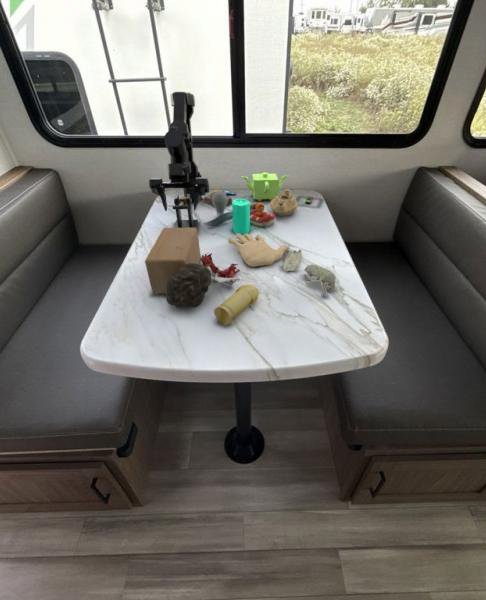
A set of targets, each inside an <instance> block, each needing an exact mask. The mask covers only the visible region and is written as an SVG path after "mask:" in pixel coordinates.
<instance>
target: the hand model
mask: <svg viewBox="0 0 486 600" xmlns="http://www.w3.org/2000/svg"><path fill="white" fill-rule="evenodd" d="M255 237H256V238H255ZM255 237H253V236H252V235H250V234H249V233H245V234H239V233H235V238H233V237H231V236H228V237H227V241H228V243H229V244H231V245H233V246H234V247H235V248H237V250H239V254H240V256H241V258H242V259H243V261H244V262H245V264H247V266H249V267H253V268H255V267H258V266H271V265H272V264H274V263H275V261H278V260H281V259H282V258H283V255H284V253H286V252H290V251H289V250H290V246H288V245H286V244H282V245H280V246H279V247H278V248H277V249H274V248H273V247H271V246H270V245H269V244H268V243H267V241H266V240H265V237H264V236H262V235H261V234H256V236H255Z"/></svg>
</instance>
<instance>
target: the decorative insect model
mask: <svg viewBox="0 0 486 600" xmlns="http://www.w3.org/2000/svg"><path fill="white" fill-rule="evenodd" d="M303 271H304V272H305V274H302V276H303V278H305V277H310V278H312V279H307V281H306V283H308V284H309V283H311V282H319V283H320V285H321V288H322V292H323V295H324V298H326V297H327V293H328V292H327V287H328V288H329V291H330V292H332V291H335V290H336V288H335V287H336V278H337V277H336V274H335V273H334V272H332V271H331V270H329V269H328V268H325V267H323V266H320V265H317V264H315V263H314V264H308V265H307V266H305V267H304V269H303Z"/></svg>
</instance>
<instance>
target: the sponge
mask: <svg viewBox="0 0 486 600" xmlns="http://www.w3.org/2000/svg"><path fill="white" fill-rule="evenodd" d="M302 251H303V250H302V249H299V248H298V250H295V249H294V250H291V251H287V252H288V253H286V256H285V257H284V264H283V266H282V270H283V271H284V272H295V271H296V270H298V269H299V268H300V265H301V260H302V255H303V254H302Z"/></svg>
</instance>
